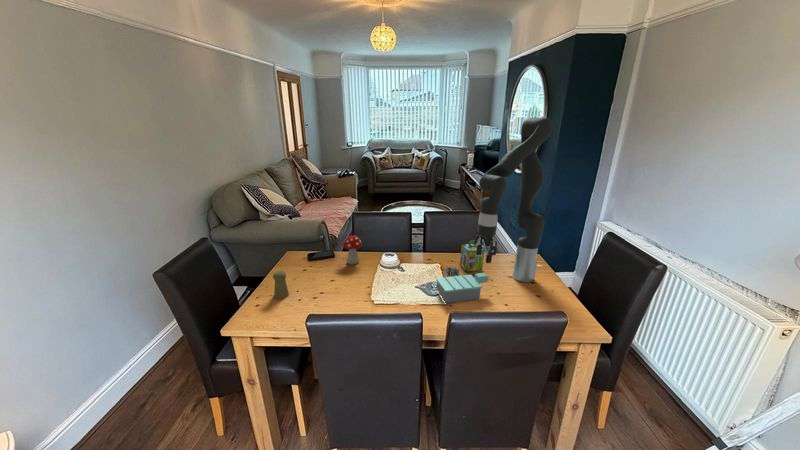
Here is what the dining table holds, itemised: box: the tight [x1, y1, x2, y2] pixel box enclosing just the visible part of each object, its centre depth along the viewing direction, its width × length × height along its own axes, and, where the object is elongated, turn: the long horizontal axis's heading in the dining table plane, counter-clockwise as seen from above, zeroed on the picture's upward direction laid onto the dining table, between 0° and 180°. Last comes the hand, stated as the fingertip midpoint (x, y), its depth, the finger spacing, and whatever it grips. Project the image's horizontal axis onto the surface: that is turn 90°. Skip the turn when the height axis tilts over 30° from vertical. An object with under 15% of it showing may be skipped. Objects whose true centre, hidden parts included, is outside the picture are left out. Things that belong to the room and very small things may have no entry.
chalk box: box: [459, 239, 485, 272], centre depth 167 cm, size 9×9×15 cm
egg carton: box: [444, 265, 462, 277], centre depth 159 cm, size 11×8×4 cm
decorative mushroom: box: [342, 235, 363, 265], centre depth 170 cm, size 10×9×15 cm
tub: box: [436, 281, 482, 305], centre depth 142 cm, size 16×10×6 cm, turn 105°
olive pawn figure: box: [272, 270, 290, 300], centre depth 139 cm, size 6×6×11 cm
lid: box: [435, 272, 489, 292], centre depth 141 cm, size 21×11×3 cm, turn 105°
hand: (483, 258), depth 140 cm, fingers open, 8 cm apart
